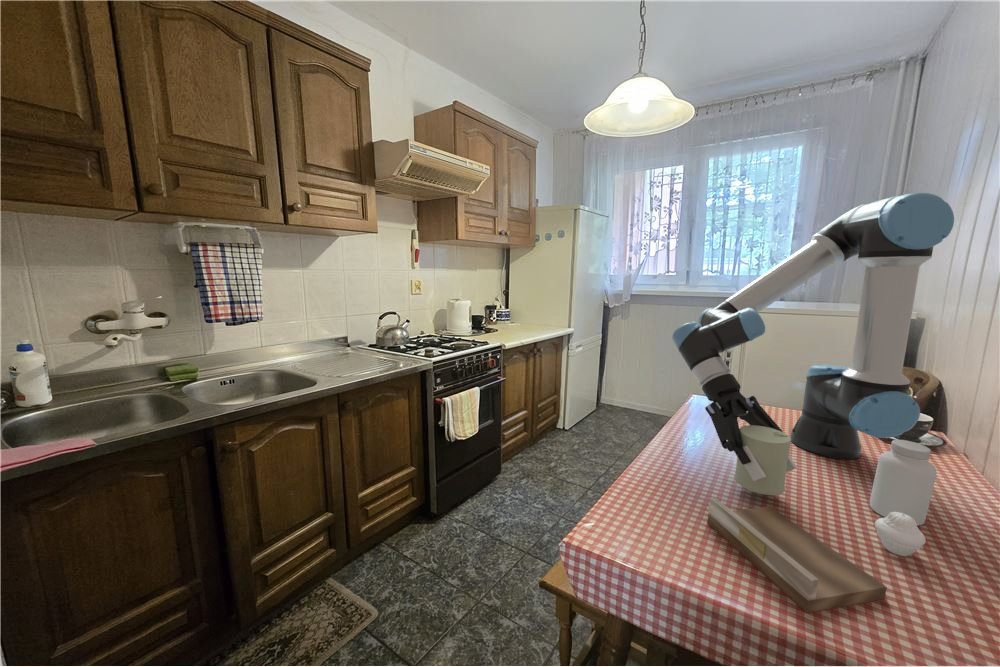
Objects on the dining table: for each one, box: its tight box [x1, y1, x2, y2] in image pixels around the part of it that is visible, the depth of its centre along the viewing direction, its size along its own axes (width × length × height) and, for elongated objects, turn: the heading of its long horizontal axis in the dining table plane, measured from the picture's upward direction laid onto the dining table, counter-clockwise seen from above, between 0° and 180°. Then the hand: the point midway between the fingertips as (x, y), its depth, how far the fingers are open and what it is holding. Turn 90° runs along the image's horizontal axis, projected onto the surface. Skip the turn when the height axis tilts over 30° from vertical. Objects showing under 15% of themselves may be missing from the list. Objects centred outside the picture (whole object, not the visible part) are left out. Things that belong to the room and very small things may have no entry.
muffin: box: [874, 512, 927, 557], centre depth 67 cm, size 6×6×7 cm
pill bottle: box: [869, 439, 938, 527], centre depth 77 cm, size 8×8×15 cm
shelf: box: [707, 497, 888, 614], centre depth 66 cm, size 14×20×5 cm
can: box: [733, 424, 792, 496], centre depth 83 cm, size 9×9×12 cm
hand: (775, 474), depth 81 cm, fingers closed on can, 9 cm apart
